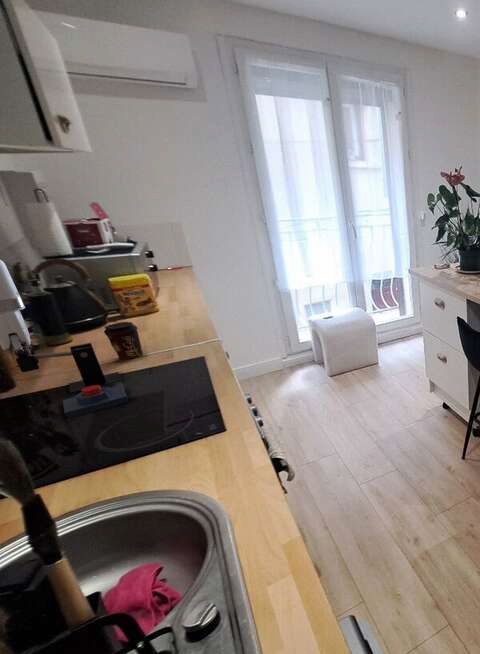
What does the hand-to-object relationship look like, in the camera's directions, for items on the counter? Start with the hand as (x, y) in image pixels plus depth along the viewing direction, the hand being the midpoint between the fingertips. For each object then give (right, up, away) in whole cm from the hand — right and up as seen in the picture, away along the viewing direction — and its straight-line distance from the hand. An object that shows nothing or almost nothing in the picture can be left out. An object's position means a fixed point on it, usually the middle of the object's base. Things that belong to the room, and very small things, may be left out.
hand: (30, 366), depth 115 cm
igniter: (+19, -11, 0) cm, 22 cm away
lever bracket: (+7, -6, +11) cm, 14 cm away
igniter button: (+19, -7, -1) cm, 20 cm away
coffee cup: (0, 0, +29) cm, 29 cm away
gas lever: (+4, +2, +3) cm, 5 cm away
